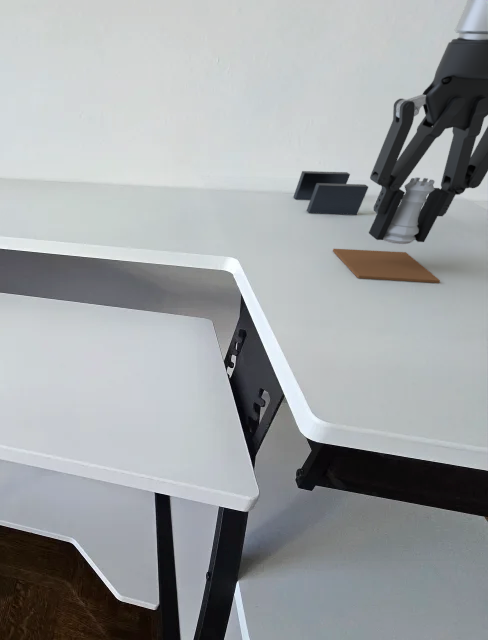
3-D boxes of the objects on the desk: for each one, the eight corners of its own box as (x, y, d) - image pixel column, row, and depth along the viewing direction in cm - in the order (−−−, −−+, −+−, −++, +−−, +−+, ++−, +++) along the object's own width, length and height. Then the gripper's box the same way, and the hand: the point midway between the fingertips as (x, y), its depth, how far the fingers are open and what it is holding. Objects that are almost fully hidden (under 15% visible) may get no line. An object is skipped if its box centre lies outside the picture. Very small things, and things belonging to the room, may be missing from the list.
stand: (337, 198, 97) (347, 172, 94) (356, 215, 89) (368, 186, 86) (293, 197, 99) (302, 170, 96) (308, 213, 91) (319, 185, 88)
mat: (404, 254, 75) (405, 252, 75) (439, 283, 67) (440, 280, 67) (332, 250, 77) (333, 248, 76) (357, 278, 69) (359, 275, 68)
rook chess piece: (419, 246, 67) (450, 185, 62) (381, 243, 68) (408, 183, 64) (408, 234, 70) (436, 176, 66) (372, 232, 72) (397, 174, 67)
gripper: (560, 34, 57) (451, 231, 71) (391, 36, 60) (319, 225, 74) (612, 36, 51) (482, 251, 65) (422, 39, 54) (337, 243, 68)
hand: (395, 237), depth 69 cm, fingers closed on rook chess piece, 4 cm apart
